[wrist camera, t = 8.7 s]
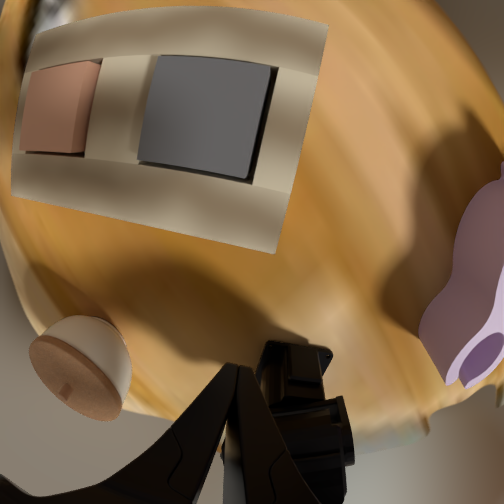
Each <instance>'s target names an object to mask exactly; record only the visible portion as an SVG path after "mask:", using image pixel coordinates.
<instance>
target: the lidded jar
mask: <svg viewBox="0 0 504 504" xmlns="http://www.w3.org/2000/svg"><path fill="white" fill-rule="evenodd" d="M29 356H30V359H31V363H32V365H33V367H34V369H35V371H36V373H37V374H38V376H39V377H40V379H41V380H42V382H43V383H44V384H45V385H46V386H47V388H48V389H49V390H50V391H51V392H52V393H53V394H54V395H55V396H56V397H57V398H59V399H60V400H61V401H62V402H63V403H65V404H66V405H67V406H69V407H70V408H72V409H73V410H75V411H77V412H79V413H80V414H82V415H84V416H87V417H89V418H92V419H95V420H99V421H112V420H114V419H116V418H117V417H118V416H119V413H120V411H121V408H122V405H123V403H124V401H125V398H126V396H127V393H128V390H129V387H130V384H131V379H132V364H131V358H130V355H129V352H128V350H127V345H126V342H125V340H124V338H123V337H122V335H121V334H120V332H119V331H118V330H117V329H116V328H115V327H114V326H113V325H111V324H110V323H109V322H107V321H105V320H103V319H101V318H98V317H89V316H84V315H74V316H69V317H65V318H63V319H61V320H59V321H57V322H55V323H54V324H53V325H51V326H50V327H49V328H48V329H47V330H45V331H44V332H43V333H42V334H41V336H39V337H37V338H36V339H35V340H34V341H33V342H32V343H31V345H30V348H29Z"/></svg>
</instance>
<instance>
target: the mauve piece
mask: <svg viewBox="0 0 504 504" xmlns="http://www.w3.org/2000/svg"><path fill="white" fill-rule="evenodd" d="M418 334H419V339H420V340H421V342H422V344H423V345H424V347H425V349H426V350H427V352H428V354H429V356H430V357H431V359H432V361H433V362H434V364H435V366H436V368H437V369H438V371H439V373H440V375H441V377H442V379H443V380H444V382H445V384H446V385H447V386H448V385H450V384H452V383H453V382H455V381H456V380H457V379H458V377H459V379H460V381H461V382H462V384H463V386H464V388H465V389H468V388H470V387H472V386H474V385H476V384H477V383H479V382H480V381H482V380H483V379H484V378H485V377H487V376H488V375H489V374H490V373H491V372H492V371H493V370H494V369H495V368H496V367H497V365H498V364H499V363H500V362H501V360H502V359H503V357H504V161H503V162H502V163H501V178H500V179H499V180H495V181H492V182H490V183H488V184H486V185H485V186H483V187H482V188H481V189H480V190H479V191H478V192H477V193H476V194H475V195H474V197H473V198H472V199H471V201H470V203H469V204H468V206H467V208H466V210H465V212H464V214H463V216H462V218H461V221H460V224H459V227H458V230H457V233H456V237H455V242H454V249H453V268H452V273H451V276H450V279H449V281H448V283H447V284H446V286H445V287H444V289H443V290H442V291H441V292H440V293H439V294H438V295H437V296H436V297H435V298H434V299H433V300H432V301H431V302H430V304H429V305H428V307H427V308H426V310H425V312H424V314H423V316H422V318H421V321H420V324H419V330H418Z"/></svg>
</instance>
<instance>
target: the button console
mask: <svg viewBox="0 0 504 504" xmlns="http://www.w3.org/2000/svg"><path fill="white" fill-rule="evenodd" d="M328 27H329V25H327V24H323V23H319V22H316V21H312V20H308V19H303V18H299V17H294V16H290V15H284V14H279V13H273V12H267V11H260V10H252V9H243V8H233V7H217V6H172V7H157V8H146V9H137V10H130V11H123V12H117V13H111V14H106V15H101V16H96V17H92V18H88V19H84V20H80V21H76V22H72V23H69V24H66V25H62V26H59V27H56V28H53V29H50V30H47V31H44V32H42V33H39V34H36V37H35V40H34V43H33V46H32V49H31V52H30V55H29V59H28V62H27V66H26V69H25V73H24V77H23V82H22V86H21V91H20V96H19V101H18V107H17V113H16V120H15V127H14V136H13V147H12V164H11V196H15V197H20V198H25V199H29V200H34V201H38V202H43V203H47V204H52V205H56V206H61V207H66V208H70V209H75V210H79V211H84V212H88V213H93V214H97V215H102V216H106V217H111V218H115V219H120V220H124V221H129V222H133V223H138V224H142V225H147V226H151V227H156V228H160V229H165V230H169V231H173V232H178V233H182V234H187V235H191V236H196V237H200V238H205V239H209V240H213V241H218V242H222V243H227V244H231V245H236V246H240V247H244V248H249V249H253V250H258V251H262V252H267V253H271V254H275V252H276V248H277V244H278V241H279V237H280V233H281V229H282V225H283V221H284V217H285V214H286V210H287V206H288V202H289V198H290V194H291V190H292V186H293V182H294V178H295V174H296V170H297V166H298V161H299V157H300V153H301V149H302V145H303V141H304V136H305V132H306V128H307V124H308V119H309V115H310V111H311V106H312V102H313V97H314V93H315V88H316V84H317V79H318V75H319V70H320V66H321V61H322V56H323V51H324V47H325V42H326V37H327V32H328ZM158 56H186V57H203V58H215V59H224V60H233V61H240V62H247V63H253V64H259V65H265V66H270V75H271V85H270V89H269V94H268V98H267V102H266V106H265V111H264V115H263V119H262V124H261V128H260V133H259V137H258V141H257V146H256V150H255V155H254V159H253V164H252V168H251V172H250V173H249V174H248V175H247V176H246V178H245V179H244V178H240V177H235V176H230V175H225V174H220V173H215V172H209V171H204V170H198V169H193V168H187V167H181V166H175V165H169V164H162V163H156V162H149V161H141V160H137V154H138V148H139V141H140V135H141V129H142V124H143V118H144V113H145V108H146V104H147V99H148V94H149V90H150V86H151V82H152V78H153V74H154V70H155V66H156V62H157V59H158ZM83 61H90V62H93V63H96V64H99V65H101V69H100V72H99V76H98V81H97V85H96V89H95V94H94V99H93V104H92V109H91V114H90V120H89V127H88V133H87V141H86V149H85V151H82V152H75V153H64V152H48V151H24V150H19V146H20V135H21V127H22V119H23V113H24V107H25V101H26V96H27V91H28V86H29V82H30V77H31V73H32V72H34V71H38V70H42V69H47V68H51V67H56V66H61V65H66V64H71V63H77V62H83Z"/></svg>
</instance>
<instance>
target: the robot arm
mask: <svg viewBox="0 0 504 504" xmlns="http://www.w3.org/2000/svg"><path fill="white" fill-rule="evenodd" d="M270 345H271V346H272V347H269V346H270ZM326 355H328V356H326ZM332 358H333V353H332V351H330V350H325V349H318V348H312V347H305V346H299V345H293V344H288V343H282V342H277V341H267V342H266V343H265V346H264V349H263V352H262V355H261V358H260V361H259V364H258V367H257V370H256V373H255V374H254V372H253V369H252V368H251V367H248V366H243V365H240V366H238V365H237V364H233V363H228V362H227V363H225V365H224V366H223V367H222V368H221V369H220V371H219V372H218V373H217V374H216V375H215V376H214V378H213V379H212V380H211V381H210V382H209V383H208V385H207V386H206V387H205V388H204V389H203V390H202V392H201V393H200V394H199V395H198V396H197V397H196V399H195V400H194V401H193V402H192V403H191V404H190V405H189V407H188V408H187V409H186V410H185V411H184V412H183V413H182V414H181V416H180V417H179V418H178V419H177V420H176V421H175V422H174V423H173V424H172V425H171V427H170V428H169V429H168V430H167V431H166V432H165V433H164V434H163V435H162V436H161V437H160V438H159V439H158V440H157V441H156V442H155V443H154V444H153V445H152V446H151V447H150V448H148V449H147V450H146V451H145V452H144V453H142V454H141V455H140V456H139V457H137V458H136V459H134V460H133V461H132V462H130V463H129V464H128V465H126V466H125V467H124V468H122V469H121V470H119V471H118V472H116V473H115V474H114V475H112V476H111V477H109V478H107V479H106V480H104V481H102V482H100V483H98V484H96V485H92V486H89V487H85V488H81V489H78V490H73V491H70V492H65V493H60V494H55V495H51V496H43V497H37V496H32V495H31V494H29V493H28V492H26V491H25V490H23V489H22V488H20V487H19V486H17V485H16V484H14V483H13V482H12V481H10V480H9V479H8V478H6V477H5V476H3V475H2V474H0V504H196V503H197V500H198V498H199V495H200V493H201V490H202V487H203V485H204V482H205V479H206V477H207V474H208V472H209V469H210V466H211V463H212V461H213V458H214V455H215V453H216V450H217V447H218V445H219V442H220V439H221V436H222V433H223V431H224V428H225V424H226V437H225V439H224V442H223V444H222V447H221V449H222V452H221V454H220V457H221V459H222V460H223V464H224V483H223V504H342V503H343V502H344V497H345V495H346V492H347V486H346V473H345V466H351V465H354V463H355V456H354V444H353V437H352V431H351V426H350V422H349V418H348V414H347V411H346V407H345V403H344V399H343V396H337V397H336V398H333V399H328V400H325V393H324V387H323V379H322V376H323V375H324V373H325V371H326V369H327V367H328V366H329V364H330V362H331V360H332ZM226 421H227V423H226Z"/></svg>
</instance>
